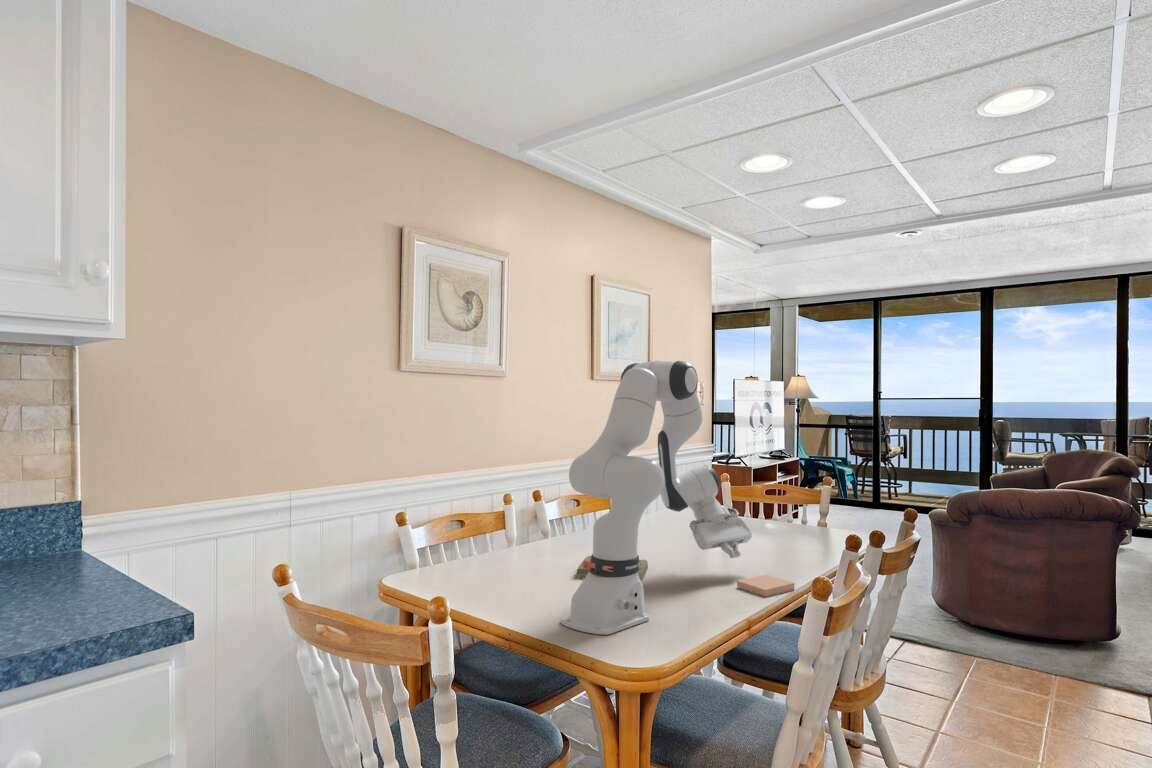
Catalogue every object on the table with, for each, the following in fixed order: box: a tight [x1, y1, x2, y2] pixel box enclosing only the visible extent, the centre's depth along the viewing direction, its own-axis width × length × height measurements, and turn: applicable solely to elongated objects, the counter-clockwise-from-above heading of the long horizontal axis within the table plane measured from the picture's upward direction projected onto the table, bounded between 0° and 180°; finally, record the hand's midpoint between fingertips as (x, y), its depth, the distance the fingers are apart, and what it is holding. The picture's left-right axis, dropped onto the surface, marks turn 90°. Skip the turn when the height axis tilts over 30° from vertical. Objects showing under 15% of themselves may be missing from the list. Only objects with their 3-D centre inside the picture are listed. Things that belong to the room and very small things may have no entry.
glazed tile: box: [736, 574, 795, 598], centre depth 178 cm, size 12×2×10 cm
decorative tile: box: [575, 555, 649, 583], centre depth 193 cm, size 19×20×4 cm
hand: (736, 556), depth 187 cm, fingers closed
